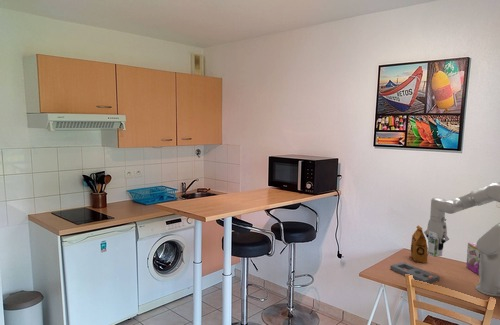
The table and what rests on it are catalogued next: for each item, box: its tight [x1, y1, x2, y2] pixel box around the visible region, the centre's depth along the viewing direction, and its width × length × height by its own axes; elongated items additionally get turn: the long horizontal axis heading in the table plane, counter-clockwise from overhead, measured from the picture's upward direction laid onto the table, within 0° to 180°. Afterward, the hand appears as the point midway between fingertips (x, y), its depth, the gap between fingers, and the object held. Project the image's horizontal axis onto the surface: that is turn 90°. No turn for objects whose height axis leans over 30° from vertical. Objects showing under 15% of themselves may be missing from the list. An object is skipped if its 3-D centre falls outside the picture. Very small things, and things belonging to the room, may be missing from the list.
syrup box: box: [427, 231, 443, 258], centre depth 203 cm, size 6×6×14 cm
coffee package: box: [410, 225, 429, 264], centre depth 225 cm, size 10×12×22 cm
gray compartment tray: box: [390, 261, 440, 284], centre depth 202 cm, size 24×12×3 cm, turn 26°
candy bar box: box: [466, 242, 482, 276], centre depth 207 cm, size 11×5×16 cm, turn 1°
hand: (435, 247), depth 203 cm, fingers closed on syrup box, 6 cm apart
